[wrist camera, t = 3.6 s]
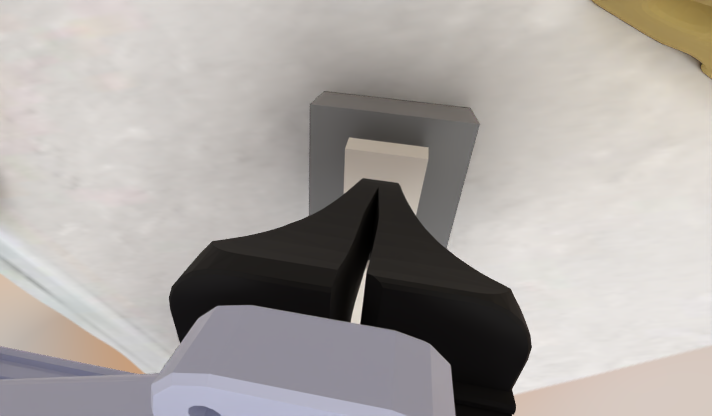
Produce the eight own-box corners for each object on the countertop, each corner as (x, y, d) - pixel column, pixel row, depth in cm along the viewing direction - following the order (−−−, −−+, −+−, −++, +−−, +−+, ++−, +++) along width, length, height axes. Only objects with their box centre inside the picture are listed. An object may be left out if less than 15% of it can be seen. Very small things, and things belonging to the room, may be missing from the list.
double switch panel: (423, 307, 26) (424, 348, 23) (318, 289, 26) (305, 327, 23) (473, 108, 18) (485, 128, 15) (324, 91, 19) (305, 107, 16)
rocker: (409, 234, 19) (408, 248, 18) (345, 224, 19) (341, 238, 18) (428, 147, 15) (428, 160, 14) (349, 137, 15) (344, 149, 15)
